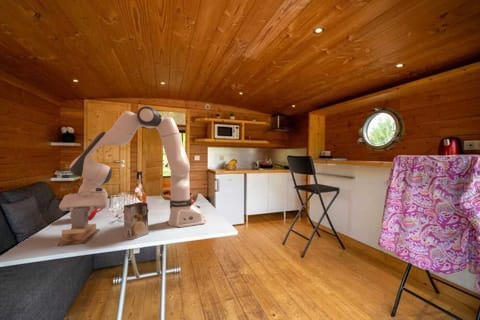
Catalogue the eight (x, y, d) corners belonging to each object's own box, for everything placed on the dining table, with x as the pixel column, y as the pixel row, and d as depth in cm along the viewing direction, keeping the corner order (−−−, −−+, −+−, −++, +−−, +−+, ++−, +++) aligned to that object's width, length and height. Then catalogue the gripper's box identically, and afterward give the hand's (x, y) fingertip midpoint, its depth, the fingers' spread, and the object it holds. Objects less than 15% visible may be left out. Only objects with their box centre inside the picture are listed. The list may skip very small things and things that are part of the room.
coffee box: (141, 231, 111) (140, 201, 111) (148, 234, 108) (148, 203, 107) (123, 237, 103) (123, 205, 103) (131, 240, 100) (130, 207, 99)
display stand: (99, 231, 112) (99, 219, 112) (85, 243, 96) (85, 229, 96) (75, 233, 109) (75, 220, 109) (57, 246, 94) (57, 231, 93)
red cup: (108, 217, 136) (108, 202, 135) (76, 224, 123) (75, 207, 122) (101, 213, 144) (101, 199, 144) (70, 219, 131) (70, 204, 131)
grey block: (88, 223, 106) (88, 207, 105) (83, 226, 101) (83, 210, 100) (76, 224, 104) (76, 208, 104) (71, 227, 99) (71, 211, 99)
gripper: (62, 190, 107) (51, 214, 97) (108, 188, 112) (101, 211, 103) (67, 197, 111) (57, 221, 102) (111, 195, 116) (105, 218, 107)
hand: (79, 216), depth 102 cm, fingers closed on grey block, 5 cm apart
